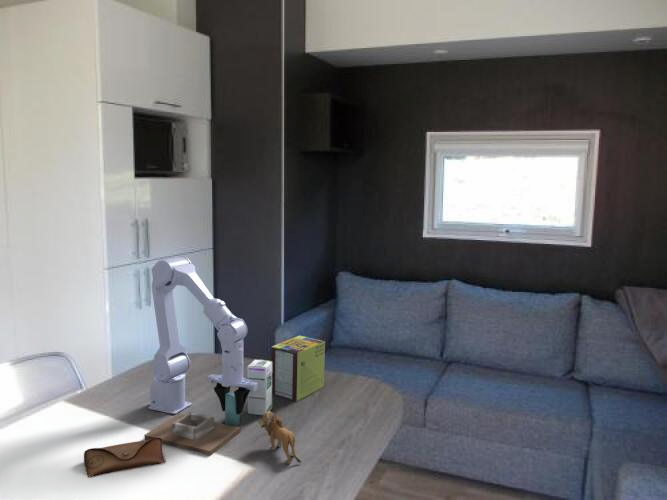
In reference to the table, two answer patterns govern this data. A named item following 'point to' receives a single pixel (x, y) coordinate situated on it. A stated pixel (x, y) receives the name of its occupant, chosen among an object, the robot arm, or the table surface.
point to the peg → (231, 410)
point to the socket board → (194, 433)
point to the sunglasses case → (123, 457)
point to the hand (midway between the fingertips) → (232, 411)
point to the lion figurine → (278, 434)
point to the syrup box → (260, 387)
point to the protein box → (297, 367)
